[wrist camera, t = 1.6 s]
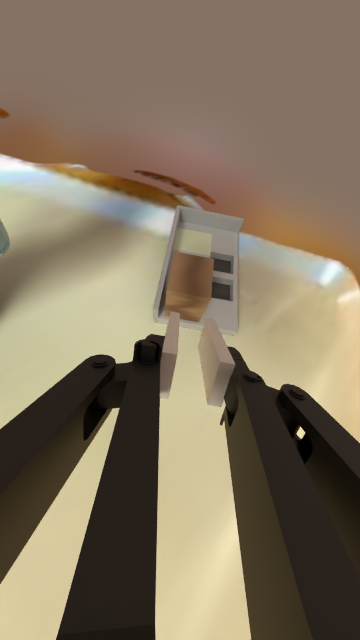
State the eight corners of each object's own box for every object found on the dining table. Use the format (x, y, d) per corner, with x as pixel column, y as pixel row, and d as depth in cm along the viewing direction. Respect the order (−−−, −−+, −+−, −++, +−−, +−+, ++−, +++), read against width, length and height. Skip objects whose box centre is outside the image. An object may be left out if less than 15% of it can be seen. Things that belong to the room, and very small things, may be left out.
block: (164, 316, 31) (166, 290, 24) (171, 283, 34) (174, 251, 27) (198, 322, 31) (211, 298, 24) (202, 289, 34) (214, 258, 27)
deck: (153, 321, 33) (153, 308, 28) (175, 225, 44) (177, 205, 39) (233, 335, 33) (245, 325, 29) (234, 237, 44) (243, 218, 40)
